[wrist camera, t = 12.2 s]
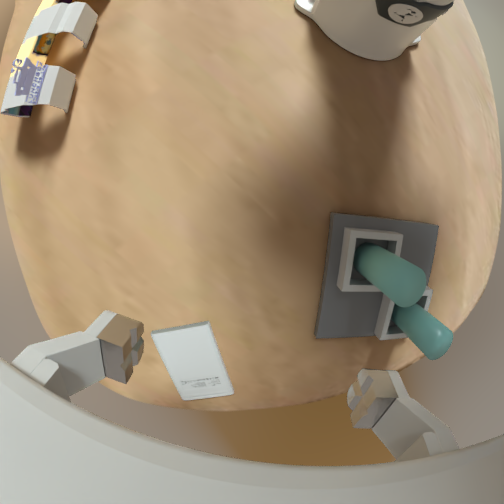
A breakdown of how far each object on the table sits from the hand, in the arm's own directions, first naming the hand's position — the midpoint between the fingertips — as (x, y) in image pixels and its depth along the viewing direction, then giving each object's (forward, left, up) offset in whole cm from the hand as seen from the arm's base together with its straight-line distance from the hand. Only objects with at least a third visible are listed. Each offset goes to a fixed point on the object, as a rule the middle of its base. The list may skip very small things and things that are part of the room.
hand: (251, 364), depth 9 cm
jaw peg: (+2, +15, -22) cm, 27 cm away
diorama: (-29, -27, -24) cm, 46 cm away
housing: (+5, +18, -23) cm, 30 cm away
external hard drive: (+18, -6, -24) cm, 31 cm away
